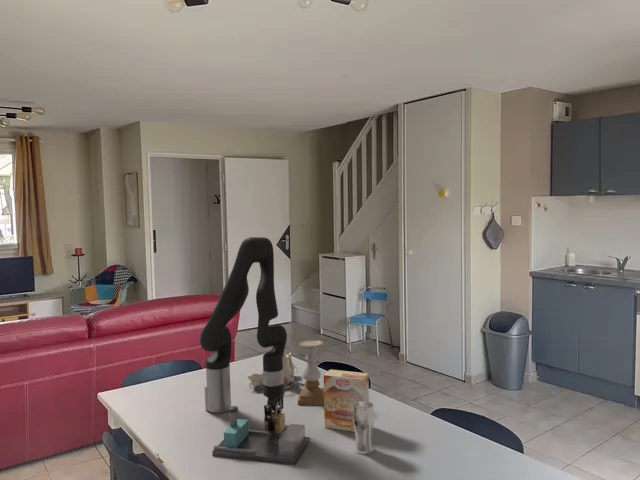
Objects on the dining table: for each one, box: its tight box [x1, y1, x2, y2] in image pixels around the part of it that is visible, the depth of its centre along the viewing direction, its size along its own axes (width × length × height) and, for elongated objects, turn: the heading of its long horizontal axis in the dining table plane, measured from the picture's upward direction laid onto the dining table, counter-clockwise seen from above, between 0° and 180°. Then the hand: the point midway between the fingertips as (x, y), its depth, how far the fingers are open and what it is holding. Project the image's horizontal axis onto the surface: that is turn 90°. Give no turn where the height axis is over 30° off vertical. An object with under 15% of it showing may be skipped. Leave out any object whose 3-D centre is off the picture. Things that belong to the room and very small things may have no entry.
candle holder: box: [297, 339, 324, 406], centre depth 210 cm, size 11×11×24 cm
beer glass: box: [353, 401, 375, 455], centre depth 167 cm, size 7×7×15 cm
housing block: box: [263, 412, 286, 434], centre depth 184 cm, size 6×5×5 cm
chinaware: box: [247, 352, 298, 390], centre depth 231 cm, size 28×17×17 cm, turn 144°
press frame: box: [211, 423, 311, 466], centre depth 170 cm, size 28×16×6 cm, turn 75°
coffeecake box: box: [323, 368, 370, 433], centre depth 184 cm, size 15×7×20 cm, turn 68°
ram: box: [223, 405, 250, 448], centre depth 172 cm, size 5×11×11 cm, turn 165°
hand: (274, 426), depth 185 cm, fingers open, 6 cm apart
